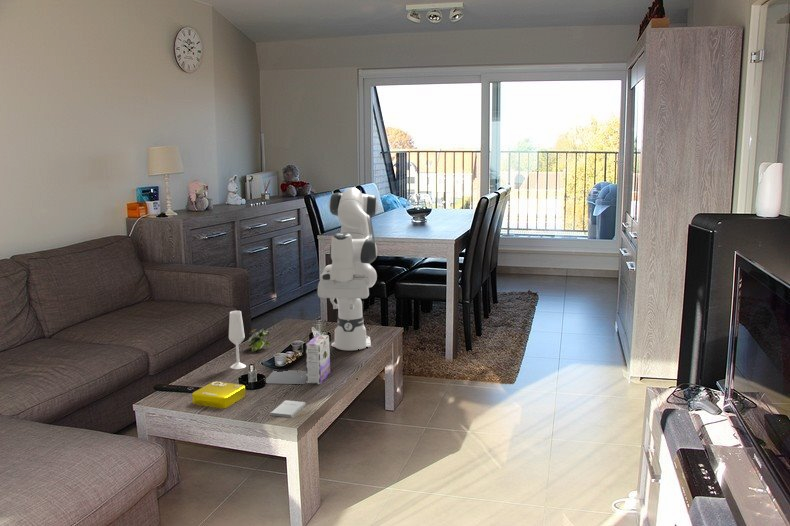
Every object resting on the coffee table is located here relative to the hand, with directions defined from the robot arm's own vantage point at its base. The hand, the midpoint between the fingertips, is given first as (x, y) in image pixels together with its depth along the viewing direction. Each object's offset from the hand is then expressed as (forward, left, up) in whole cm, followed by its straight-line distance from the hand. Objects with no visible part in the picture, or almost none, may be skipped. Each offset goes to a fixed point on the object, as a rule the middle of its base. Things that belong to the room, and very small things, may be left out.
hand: (343, 308), depth 276 cm
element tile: (+26, -43, -30) cm, 58 cm away
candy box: (0, -11, -29) cm, 31 cm away
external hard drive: (+34, -14, -30) cm, 47 cm away
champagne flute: (-12, -49, -29) cm, 58 cm away
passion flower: (-38, -47, -29) cm, 68 cm away
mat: (0, -23, -29) cm, 37 cm away
